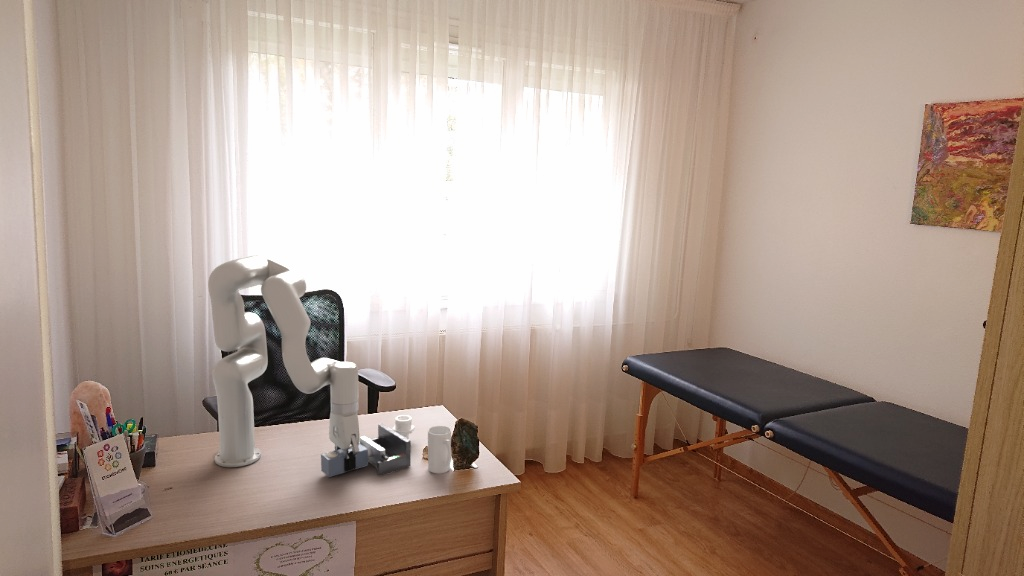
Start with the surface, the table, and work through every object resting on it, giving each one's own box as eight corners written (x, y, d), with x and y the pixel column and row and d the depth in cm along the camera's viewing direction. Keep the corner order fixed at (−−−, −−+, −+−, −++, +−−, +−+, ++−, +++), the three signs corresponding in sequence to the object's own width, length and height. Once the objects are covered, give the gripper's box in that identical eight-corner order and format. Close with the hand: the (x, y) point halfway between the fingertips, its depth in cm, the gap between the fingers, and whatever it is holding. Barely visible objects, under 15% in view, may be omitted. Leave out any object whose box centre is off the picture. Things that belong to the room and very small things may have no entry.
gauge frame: (379, 476, 186) (378, 450, 184) (351, 456, 197) (351, 431, 196) (410, 466, 192) (410, 440, 191) (382, 447, 204) (382, 423, 203)
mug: (423, 466, 192) (423, 428, 190) (443, 461, 196) (444, 423, 194) (439, 480, 184) (440, 440, 182) (460, 475, 188) (461, 435, 186)
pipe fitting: (402, 435, 214) (402, 412, 212) (418, 441, 210) (418, 417, 208) (388, 441, 209) (388, 418, 207) (404, 448, 204) (404, 423, 203)
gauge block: (321, 470, 185) (321, 453, 184) (366, 457, 194) (365, 441, 193) (328, 477, 181) (328, 459, 180) (374, 463, 190) (373, 446, 190)
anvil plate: (385, 473, 186) (384, 454, 185) (360, 455, 197) (359, 437, 196) (389, 472, 187) (389, 452, 186) (364, 454, 198) (364, 435, 197)
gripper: (318, 400, 188) (320, 459, 191) (346, 418, 175) (347, 481, 178) (343, 394, 193) (344, 452, 196) (371, 412, 180) (372, 474, 183)
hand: (345, 465), depth 187 cm, fingers closed on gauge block, 4 cm apart
